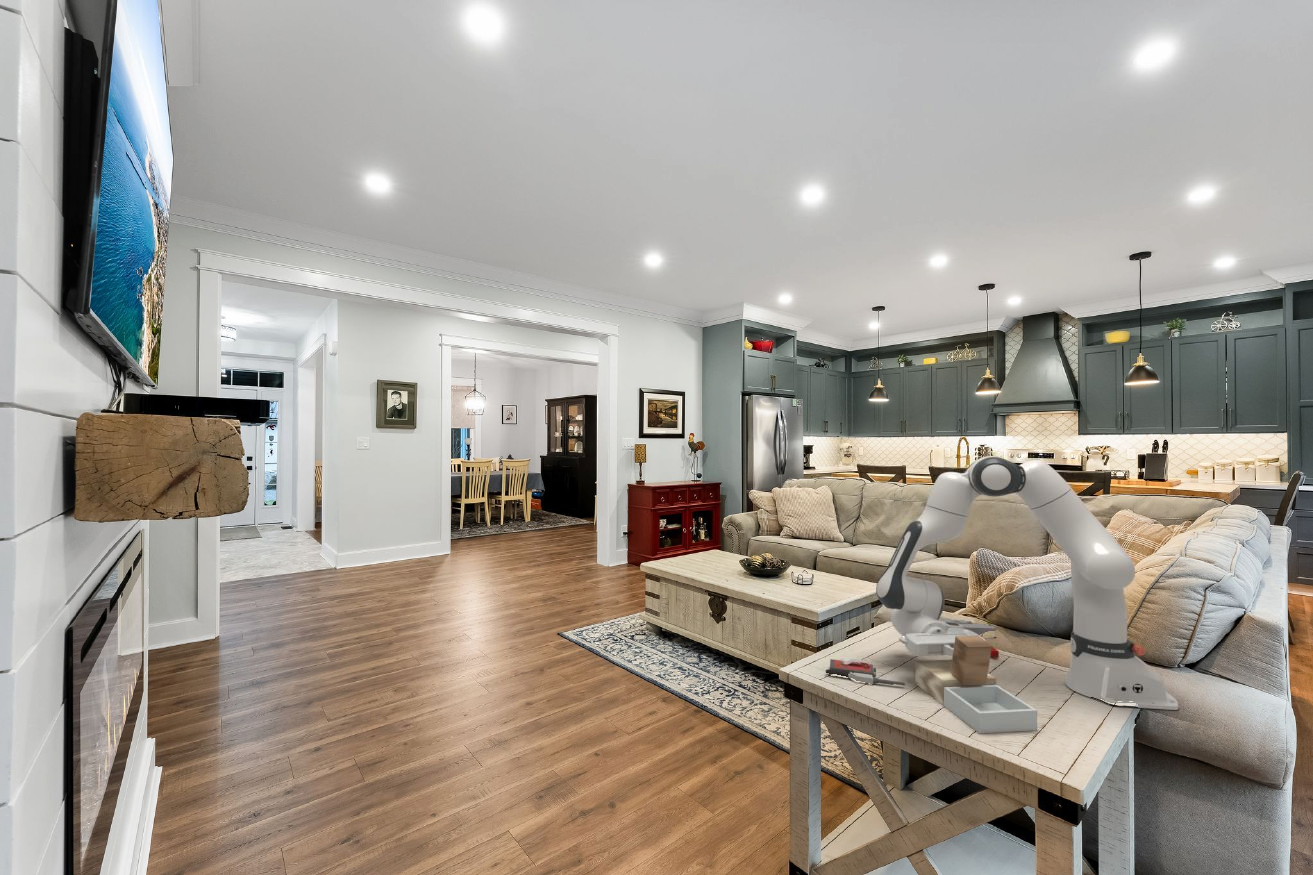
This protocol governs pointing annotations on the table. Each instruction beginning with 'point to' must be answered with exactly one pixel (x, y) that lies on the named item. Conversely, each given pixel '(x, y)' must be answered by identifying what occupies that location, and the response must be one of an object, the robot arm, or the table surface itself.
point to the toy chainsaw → (858, 671)
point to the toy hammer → (975, 630)
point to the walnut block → (970, 660)
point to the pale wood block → (940, 678)
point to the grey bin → (990, 709)
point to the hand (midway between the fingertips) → (964, 655)
